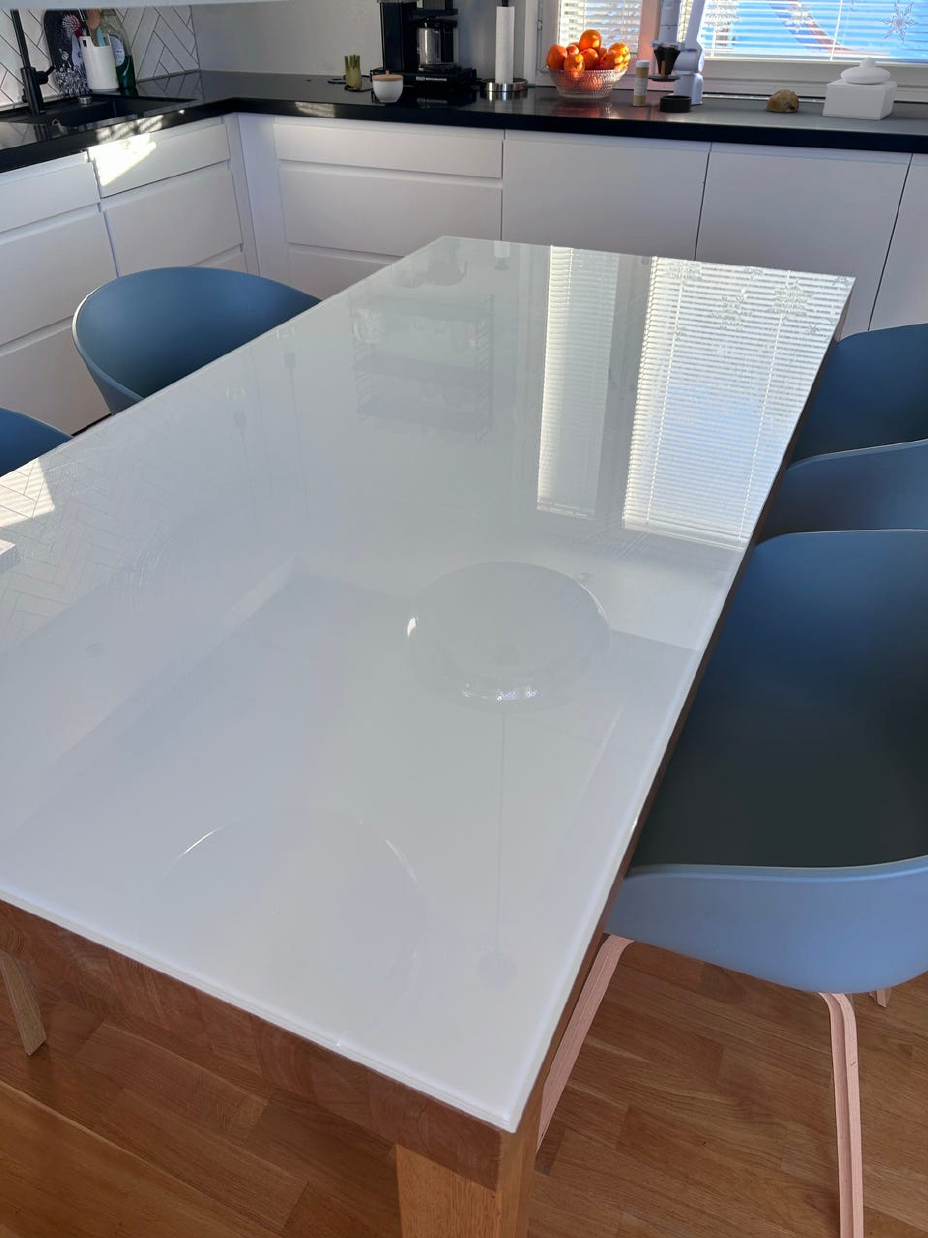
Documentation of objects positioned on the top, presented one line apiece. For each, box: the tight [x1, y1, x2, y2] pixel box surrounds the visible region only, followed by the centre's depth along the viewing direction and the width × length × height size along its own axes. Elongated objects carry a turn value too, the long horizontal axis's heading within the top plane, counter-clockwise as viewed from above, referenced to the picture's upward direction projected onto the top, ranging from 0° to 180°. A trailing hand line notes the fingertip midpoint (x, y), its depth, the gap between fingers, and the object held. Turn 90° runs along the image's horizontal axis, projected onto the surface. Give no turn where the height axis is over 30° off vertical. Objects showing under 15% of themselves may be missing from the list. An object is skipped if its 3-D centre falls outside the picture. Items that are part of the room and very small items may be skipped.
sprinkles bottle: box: [632, 59, 651, 108], centre depth 319 cm, size 5×5×13 cm
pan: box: [658, 94, 692, 114], centre depth 312 cm, size 10×10×4 cm
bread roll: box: [765, 89, 800, 114], centre depth 310 cm, size 10×10×8 cm
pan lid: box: [647, 61, 682, 83], centre depth 307 cm, size 11×11×6 cm
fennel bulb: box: [344, 53, 363, 91], centre depth 358 cm, size 6×5×12 cm
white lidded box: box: [821, 56, 899, 121], centre depth 300 cm, size 18×18×16 cm
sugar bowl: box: [371, 70, 404, 103], centre depth 333 cm, size 11×11×9 cm
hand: (664, 74), depth 307 cm, fingers closed on pan lid, 2 cm apart
